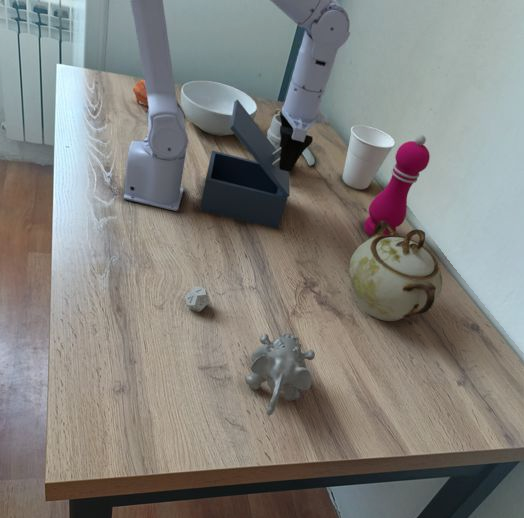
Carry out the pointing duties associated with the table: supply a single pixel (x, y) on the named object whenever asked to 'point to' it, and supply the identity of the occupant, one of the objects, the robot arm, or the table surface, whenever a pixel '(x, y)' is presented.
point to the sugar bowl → (394, 275)
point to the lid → (259, 147)
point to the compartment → (241, 191)
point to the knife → (306, 152)
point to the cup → (365, 155)
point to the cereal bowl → (213, 105)
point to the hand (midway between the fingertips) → (284, 162)
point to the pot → (141, 92)
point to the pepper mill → (398, 186)
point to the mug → (275, 131)
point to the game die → (197, 299)
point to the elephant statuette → (280, 368)
